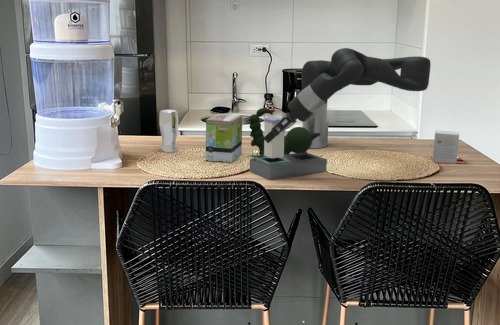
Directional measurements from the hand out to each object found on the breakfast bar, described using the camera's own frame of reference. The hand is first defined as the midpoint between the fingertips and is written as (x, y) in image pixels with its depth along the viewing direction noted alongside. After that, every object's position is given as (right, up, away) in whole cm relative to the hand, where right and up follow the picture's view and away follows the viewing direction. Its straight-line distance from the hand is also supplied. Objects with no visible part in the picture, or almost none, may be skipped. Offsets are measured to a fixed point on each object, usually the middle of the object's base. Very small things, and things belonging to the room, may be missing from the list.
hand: (269, 138), depth 173 cm
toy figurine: (+6, -6, +25) cm, 26 cm away
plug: (+2, -6, +1) cm, 6 cm away
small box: (+63, -7, +22) cm, 67 cm away
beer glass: (-36, -3, +33) cm, 49 cm away
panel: (+6, -10, +6) cm, 13 cm away
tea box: (-15, -6, +24) cm, 29 cm away
